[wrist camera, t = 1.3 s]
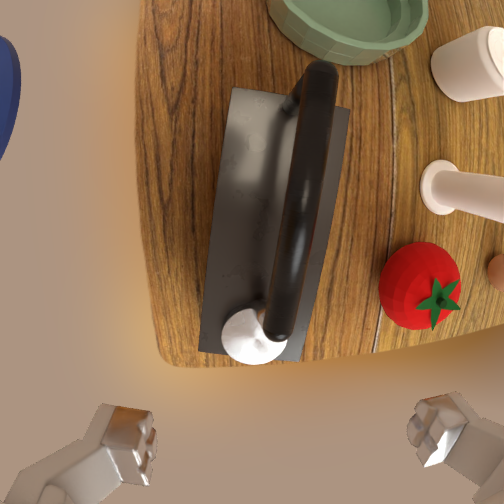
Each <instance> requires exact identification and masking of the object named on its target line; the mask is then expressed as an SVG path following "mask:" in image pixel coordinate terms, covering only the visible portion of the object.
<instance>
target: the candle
mask: <svg viewBox="0 0 504 504" xmlns="http://www.w3.org/2000/svg"><path fill="white" fill-rule="evenodd" d="M420 193H421V197H422V200H423V202H424V204H425V206H426V207H427V208H428V209H429V210H430V211H431V212H433V213H435V214H439V215H446V214H449V213H451V212H452V211H454V210H455V209H458V210H461V211H465V212H468V213H472V214H475V215H478V216H482V217H485V218H488V219H492V220H495V221H498V222H501V223H504V177H499V176H492V175H484V174H476V173H468V172H459V170H458V169H457V167H456V166H455V165H454V164H452V163H451V162H449V161H446V160H436V161H433V162H431V163H430V164H429V165H428V166H427V167H426V168H425V170H424V171H423V174H422V176H421V180H420Z"/></svg>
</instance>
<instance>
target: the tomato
mask: <svg viewBox="0 0 504 504" xmlns="http://www.w3.org/2000/svg"><path fill="white" fill-rule="evenodd" d="M460 292H461V281H460V274H459V271H458V267H457V265H456V263H455V262H454V260H453V259H452V258H451V256H450V255H449V254H448V252H447V251H446V250H444V249H443V248H441V247H439V246H437V245H435V244H433V243H427V242H415V243H412V244H408V245H405V246H403V247H402V248H400V249H399V250H398V251H396V252H395V253H394V254H393V255H392V256H391V257H390V258H389V260H388V261H387V262H386V264H385V266H384V268H383V270H382V272H381V275H380V281H379V297H380V302H381V305H382V307H383V309H384V311H385V313H386V314H387V316H388V317H389V318H390V319H392V320H393V321H394V322H395V323H396V324H397V325H399V326H401V327H405V328H408V329H411V330H420V329H427V328H429V327H432V330H433V329H434V327H435V325H437V324H438V323H440V322H441V321H442V320H444V319H445V318H446V317H447V316H448V315H449V314H450V313H451V312H452V311H453V310H460V308H459V306H458V305H457V302H458V299H459V296H460Z"/></svg>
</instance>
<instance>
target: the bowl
mask: <svg viewBox="0 0 504 504" xmlns="http://www.w3.org/2000/svg"><path fill="white" fill-rule="evenodd" d="M266 3H267V7H268V11H269V14H270V16H271V17H272V19H273V20H274V22H275V23H276V25H277V27H278V28H279V30H280V31H281V32H282V33H283V34H284V35H285V36H286V37H287V38H289V39H290V40H291V41H292V42H293V43H294V44H295V45H297V46H298V47H299V48H301V49H303V50H305V51H307V52H309V53H310V54H312V55H314V56H316V57H318V58H320V59H322V60H326V61H330V62H334V63H337V64H341V65H370V64H373V63H376V62H379V61H382V60H385V59H387V58H388V57H390V56H391V55H393V54H395V53H396V52H398V51H399V50H401V49H403V48H404V47H406V46H407V45H409V44H410V43H411V42H413V41H414V40H415V39H416V38H417V37H419V36H420V35H421V34H422V33H423V30H424V28H425V25H426V23H427V20H428V17H429V16H428V0H266Z"/></svg>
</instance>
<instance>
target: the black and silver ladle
mask: <svg viewBox="0 0 504 504" xmlns="http://www.w3.org/2000/svg"><path fill="white" fill-rule="evenodd" d="M338 80H339V75H338V71H337V69H336V68H335V66H334V65H333V64H331V63H330V62H328V61H325V60H316V61H313V62H311V63H310V64H309V65H308V66H307V67H306V69H305V73H304V74H303V76H302V77H301V78H300V80H299V81H298V82H297V84H296V85H295V87H294V88H293V89H292V91H291V92H290V93H289V95H288V96H287V98H286V99H285V100H284V102H283V109H284V111H285V112H286V113H287V114H289V115H297V114H298V120H297V126H296V133H295V139H294V146H293V152H292V158H291V164H290V171H289V177H288V183H287V189H286V195H285V201H284V207H283V213H282V219H281V225H280V231H279V236H278V242H277V248H276V254H275V259H274V265H273V271H272V276H271V282H270V287H269V293H268V298H267V301H266V300H265V299H257V300H255V301H254V302H253V303H248V304H244V305H241V306H239V307H237V308H235V309H234V310H232V311H231V312H230V313H229V314H228V315H227V317H226V318H225V320H224V322H223V325H222V333H221V340H222V345H223V347H224V349H225V351H226V352H227V353H228V354H229V355H230V356H231V357H232V358H233V359H235V360H237V361H238V362H241V363H244V364H250V365H258V364H263V363H267V362H269V361H271V360H273V359H275V358H276V357H277V356H279V355H280V354H281V352H282V351H283V350H284V348H285V346H286V344H287V341H288V338H289V337H290V336H291V335H292V333H293V330H294V326H295V321H296V317H297V313H298V308H299V304H300V299H301V295H302V290H303V286H304V281H305V276H306V271H307V267H308V262H309V257H310V252H311V247H312V242H313V237H314V232H315V226H316V221H317V216H318V210H319V205H320V199H321V194H322V188H323V182H324V176H325V170H326V164H327V158H328V151H329V145H330V138H331V132H332V125H333V118H334V111H335V103H336V96H337V88H338Z"/></svg>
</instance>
